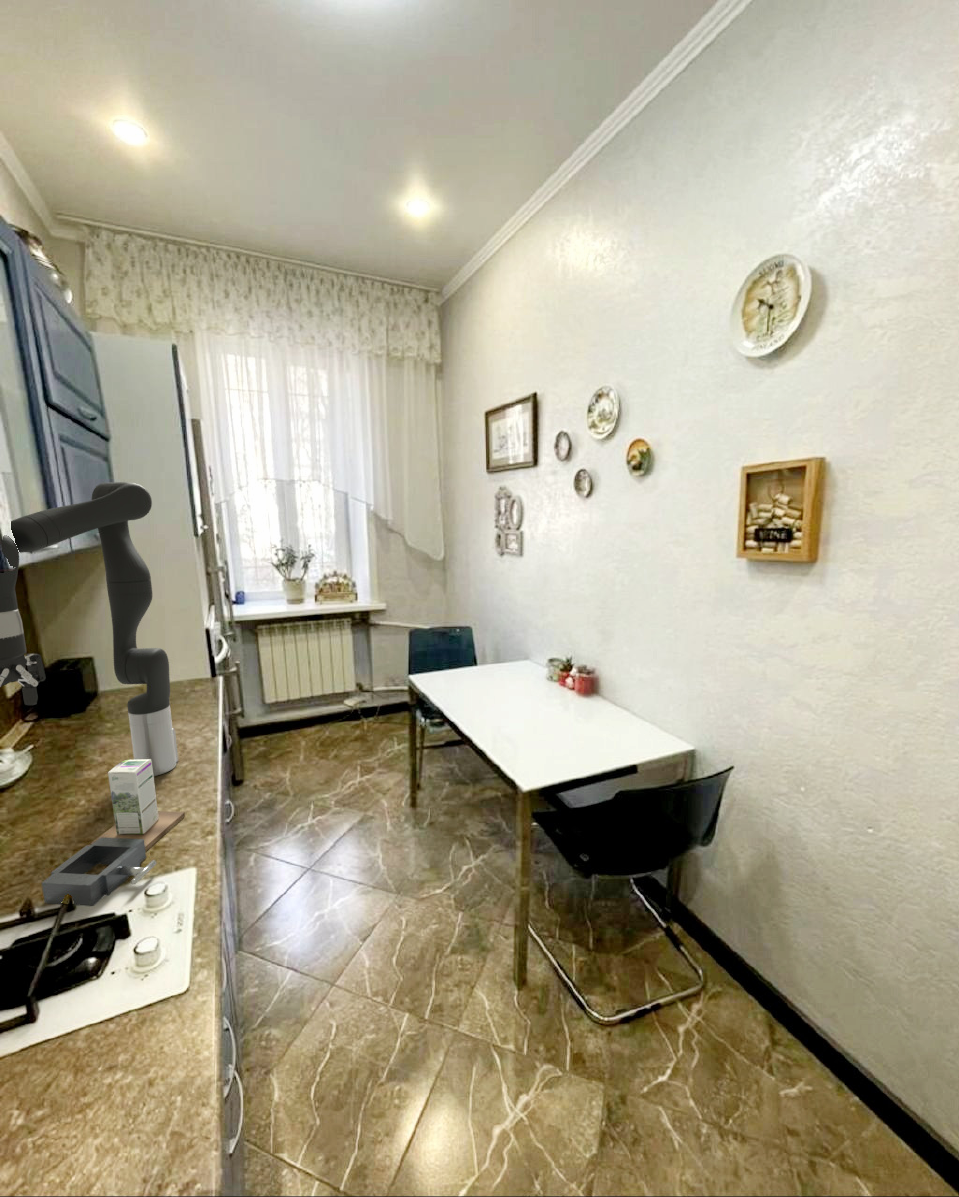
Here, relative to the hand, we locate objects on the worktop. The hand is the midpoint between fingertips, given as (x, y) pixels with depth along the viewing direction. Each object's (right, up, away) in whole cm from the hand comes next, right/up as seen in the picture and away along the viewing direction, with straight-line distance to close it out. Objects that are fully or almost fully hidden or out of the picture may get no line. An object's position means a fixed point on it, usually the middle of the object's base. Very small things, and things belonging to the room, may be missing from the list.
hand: (10, 712), depth 100 cm
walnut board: (+21, -27, +7) cm, 35 cm away
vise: (+26, -30, -7) cm, 40 cm away
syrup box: (+21, -26, +7) cm, 35 cm away
